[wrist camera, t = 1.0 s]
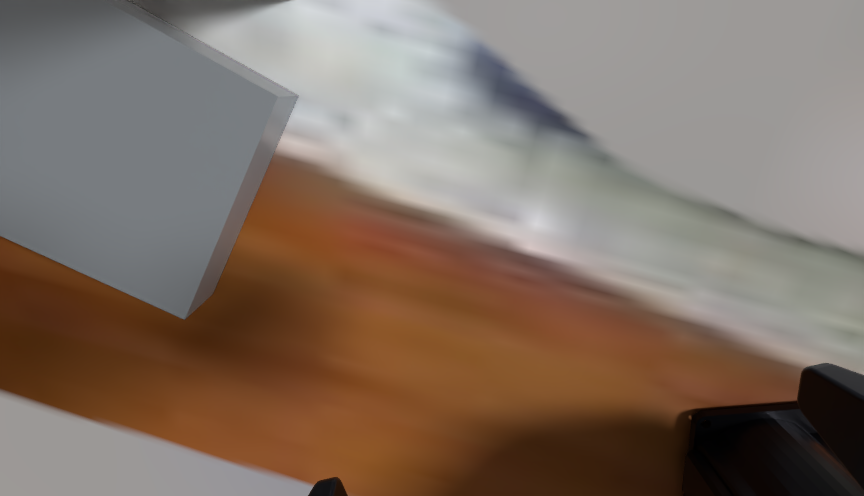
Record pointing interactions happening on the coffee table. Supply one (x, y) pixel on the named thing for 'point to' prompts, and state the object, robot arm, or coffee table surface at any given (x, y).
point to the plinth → (129, 146)
